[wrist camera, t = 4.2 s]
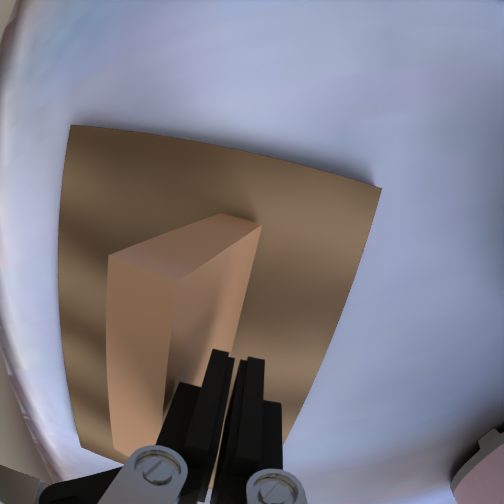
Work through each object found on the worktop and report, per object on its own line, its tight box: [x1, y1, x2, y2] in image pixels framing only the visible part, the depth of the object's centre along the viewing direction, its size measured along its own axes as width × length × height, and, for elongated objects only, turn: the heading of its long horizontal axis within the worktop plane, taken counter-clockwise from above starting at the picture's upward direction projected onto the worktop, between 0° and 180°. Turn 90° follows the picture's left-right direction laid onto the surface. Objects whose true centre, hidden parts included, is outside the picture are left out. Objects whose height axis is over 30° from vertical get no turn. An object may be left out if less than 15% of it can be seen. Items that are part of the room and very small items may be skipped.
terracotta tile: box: [106, 213, 262, 457], centre depth 12 cm, size 8×2×8 cm, turn 167°
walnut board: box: [58, 125, 382, 489], centre depth 18 cm, size 26×16×1 cm, turn 167°
